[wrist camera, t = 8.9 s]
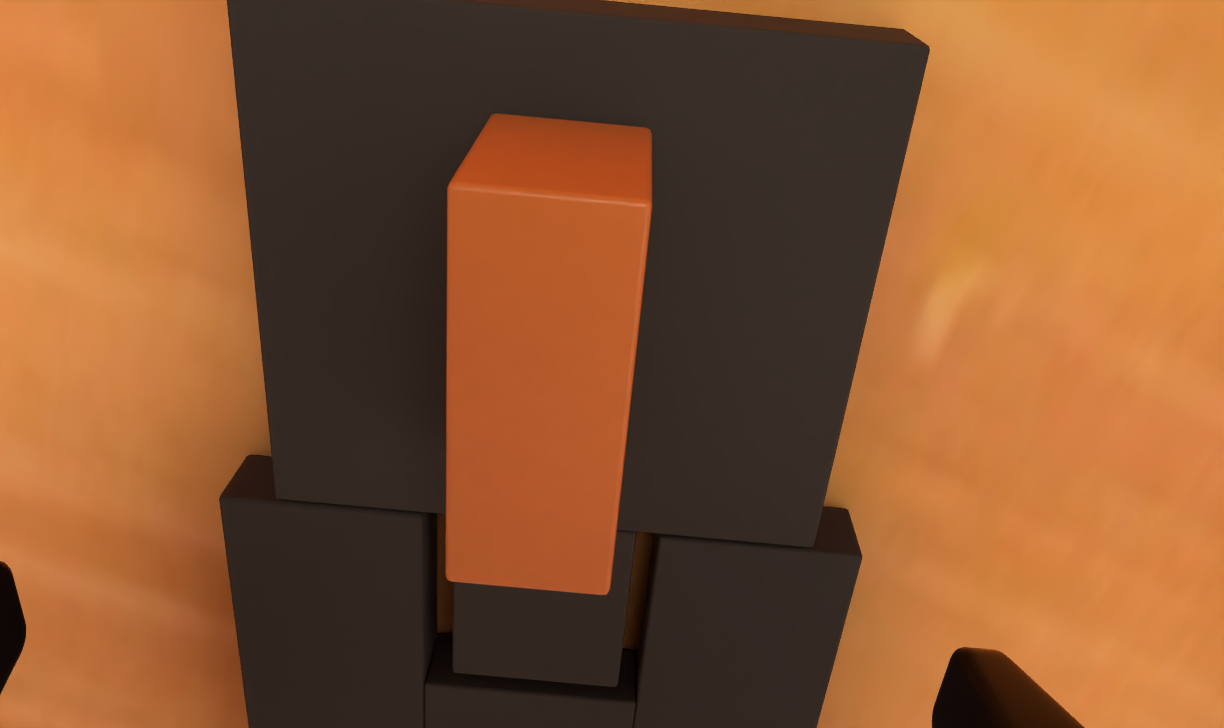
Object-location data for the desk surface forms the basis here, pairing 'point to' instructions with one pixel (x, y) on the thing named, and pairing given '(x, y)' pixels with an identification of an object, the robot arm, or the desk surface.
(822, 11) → the desk surface
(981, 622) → the desk surface
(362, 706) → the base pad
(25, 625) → the robot arm
